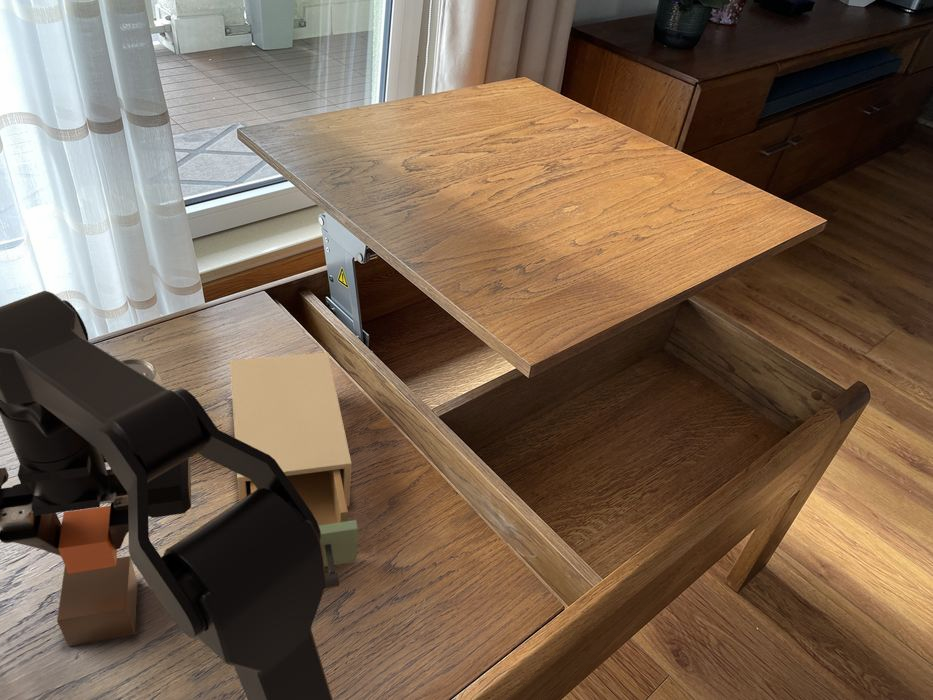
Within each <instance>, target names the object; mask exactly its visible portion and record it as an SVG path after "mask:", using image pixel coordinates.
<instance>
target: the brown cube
mask: <svg viewBox="0 0 933 700" xmlns="http://www.w3.org/2000/svg"><path fill="white" fill-rule="evenodd" d="M138 585H139V584H138V579H137V576H136V572H135V569H134V566H133V561H132V560H131V557H130V555H127V556H121V557H117V559H116V566H113V567H107V568H101V569H94V570H88V571H82V572H76V573H68V572H67V569H66V567H65V566H64V567H63V575H62V583H61V589H60V597H59V604H58V611H57V617H56V622H57V624H58V626H59V629H60V631H61V634H62V635H63V638H64V640H65V642H66V644H67V646H68V647H74V646H80V645H85V644H90V643H96V642H102V641H107V640H113V639H118V638H124V637H128V636H135V634H136V620H137V619H136V617H137V601H138Z"/></svg>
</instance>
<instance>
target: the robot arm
mask: <svg viewBox="0 0 933 700" xmlns="http://www.w3.org/2000/svg"><path fill="white" fill-rule="evenodd" d="M121 361H122V360H119V359H118V358H117V357H115V356H113V355H112V354H110V353H108V352H107V351H105V350H103V349H102V348H101V347H98V346H97V345H95V344H94V343H93V342H90V341H89V334H88V329H87V328H86V325H85V323H84V321H83V319H82V318H81V315H80V314H79V312H78V311H77V309H76V308H75V307H74V305H73V304H72V303H70V302H69V300H65V299H63V300H62V299H61V298H60V297H59V296H58V295H56V294H55V293H53V292H50V291H47V290H42V291H40V292H37V293H34V294H31V295H29V296H25V297H24V298H21V299H18V300H15V301H12V302H10V303H7V304H4V305H1V306H0V418H1V420H2V423H3V426H4V429H5V430H6V434H7V435H8V438H9V440H10V443H11V445H12V448H13V450H14V452H15V455H16V458H17V460H18V462H19V466H18V472H17V478H18V480H19V483H17V484H14V485H12V486H9V487H2V486H3V485H4V484H5V483H7V482H8V481H9V476H10V475H9V472H8V470H7V467H0V542H1V543H3V544H11V543H14V544H18V545H23V546H27V547H31V548H35V549H39V550H41V551H44V552H48V553H51V554H52V555H53V554H54V555H57V556H59V557H61V554H60V552H59V550H58V546H59V539H60V533H61V526H62V521H60V519H59V516H58V513H64V512H69V511H76V510H84V509H91V508H98V507H101V505H105V504H110V506H111V508H110V519H109V529H110V534H111V539H112V544H113V546H114V547H115V549H117V550H120V549H121V548H122V545H123V543H124V541H125V538H126V536H127V534H128V554H129V556H130V558H131V562H132V564H134V565H135V567H136V569H137V571H139V573H140V574H141V577H142V578H143V579H144V580H145V582H146V583H147V584H148V586H149V587H150V589H151V591H152V592H153V593H154V595H155V597H156V598H157V599H158V600H159V602H160V604H161V605H162V606H163V608H164V609H165V611H166V613H167V614H168V616H169V617H170V618H171V619H172V621H173V623H175V625H176V626H177V627H178V628H179V630H181V632H182V633H183V634H184V635H186V636H187V637H189V638H190V639H195V638H197V639H198V640H200V641H201V642H202V643H203V644H204V645H206V646H207V647H208V648H209V649H210V650H211V652H213V653H214V654H215V655H216V656H217V657H219V658H220V659H221V661H222V662H224V663H225V664H226V665H228V666H231V667H234V669H235V672H236V675H237V677H238V679H239V682H240V685H241V687H242V689H243V693H244V694H245V697H246V700H334V699H333V696H332V691H331V689H330V686H329V683H328V679H327V676H326V673H325V669H324V666H323V663H322V660H321V657H320V654H319V650H318V646H317V644H316V641H315V636H314V634H313V629H312V626H313V623H314V620H315V617H316V614H317V612H318V609H319V606H320V603H321V601H322V598H323V594H324V592H325V586H326V575H325V574H326V569H325V568H326V567H324V561H323V554H322V547H321V543H320V539H321V531H320V528H319V526H318V523H317V521H316V519H315V517H314V516H313V514H312V512H311V511H310V509H309V508H308V506H307V505H306V503H305V502H304V501H303V499H302V498H301V496H300V495H299V493H298V492H297V491H296V489H295V488H294V486H293V485H292V483H291V482H290V481H289V479H288V478H287V476H286V475H285V473H284V472H283V471H282V469H281V468H280V466H279V465H278V463H277V462H276V461H275V459H273V458H272V457H271V456H270V455H268V454H266V453H264V452H262V451H260V450H258V449H256V448H254V447H252V446H250V445H248V444H246V443H244V442H242V441H240V440H238V439H236V438H235V436H232V435H230V434H228V433H226V432H224V431H222V430H220V429H219V428H218V427H217V426H216V424H215V423H214V421H213V420H212V419H211V417H210V416H209V414H208V412H206V410H205V408H204V407H203V406H202V404H201V403H200V402H199V401H198V400H197V398H196V397H195V396H194V395H193V394H192V393H191V392H190V391H188V390H187V389H185V388H181V387H180V388H178V389H176V390H175V391H174V390H170V389H167V388H166V387H163V385H162V386H161V385H159V384H157V383H156V382H154V381H152V380H151V379H149V378H148V377H146V376H144V375H143V374H141V373H139V372H138V371H136V370H134V369H133V368H131V367H130V366H128V365H126V364H125V363H123V362H121ZM197 454H199V455H200V456H201V457H203V458H205V459H207V460H209V461H211V462H213V463H216V464H217V465H219V466H221V467H223V468H226V469H228V470H229V471H232V472H234V473H236V474H237V473H238V474H240V475H242V476H244V477H246V478H249V479H250V480H251V481H252V482H253V483H254V485H255V486H256V488H257V490H256V491H254V492H253V493H251V494H250V495H248V496H247V497H245V498H244V499H242V500H241V501H240V500H239V501H238V502H236V503H235V504H233V505H232V506H229V508H227V509H225V510H224V511H222V513H220V514H218V515H216V516H215V517H214V518H212V519H210V520H209V521H207V522H206V523H205V524H203V525H201V526H200V527H199V528H197V529H195V530H194V531H192V532H191V533H189V534H188V535H186V536H185V537H183V538H181V539H180V540H178V541H177V542H176V543H174V544H173V545H171V546H170V547H168V548H167V549H165V551H164V553H163V555H162V556H161V555H160V553H159V551H158V550H157V548H156V547H155V545H154V544H153V543H152V542H151V540H150V532H149V529H150V528H149V517H150V518H153V519H155V518H161V517H168V516H169V517H170V516H176V515H182V514H186V513H187V512H188V511H189V510H190V509H191V508H192V463H191V458H192V457H194V456H195V455H197ZM106 464H107V465H108V466H109V469H107V467H106Z"/></svg>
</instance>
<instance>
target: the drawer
mask: <svg viewBox="0 0 933 700" xmlns="http://www.w3.org/2000/svg"><path fill="white" fill-rule="evenodd" d="M287 478H288V479H289V481H290V482H291V483H292V485H293V486H294V488H295V489H296V491H297V492H298V493H299V495H300V496H301V498H302V499H303V501H304V502H305V503H306V505H307V506H308V508H309V509H310V511H311V512H312V514H313V516H314V517H315V519H316V521H317V523H318V526H319V528H320V531H321V539H320V543H321V547H322V554H323V561H324V568H326V567H327V568H328V573H325V575H326V586H325V589H331V588H336V587H340V577H339V572H336V566H337V565H342V564H348V563H355V562H357V551H358V550H357V549H358V535H359V527H358V526H359V525H358V521H357V519H353V520H349V519H348V517H349V510H348V506H347V505H346V499H345V494H344V489H343V484H342V479H341V474H340V469H337V470H329V471H321V472H313V473H305V474H298V475H290V476H287ZM250 486H251V493H253V492H254V491H256V490H257V488H256V486H255V485H254V483H253V482H252V481H250ZM325 589H324V590H325Z"/></svg>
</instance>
